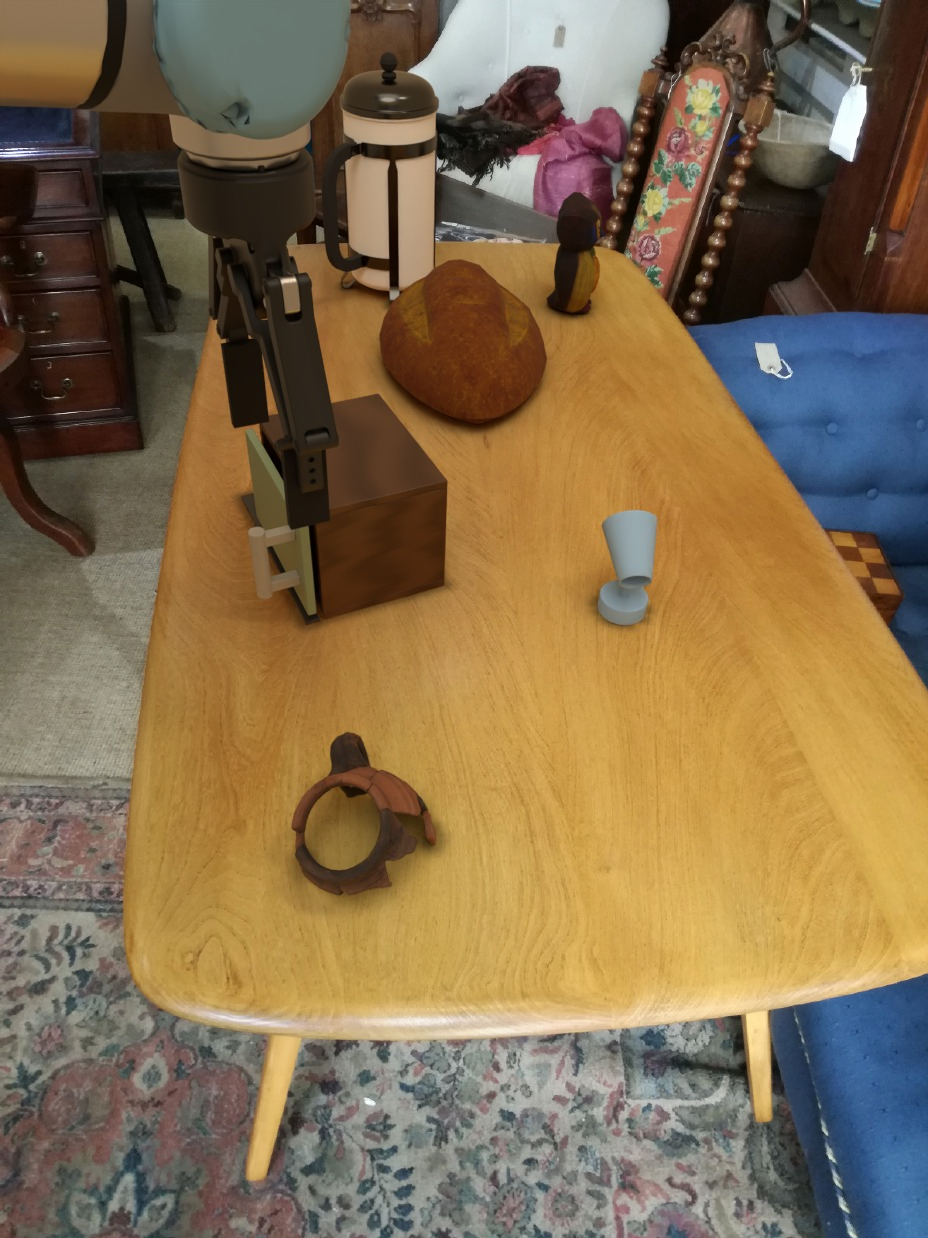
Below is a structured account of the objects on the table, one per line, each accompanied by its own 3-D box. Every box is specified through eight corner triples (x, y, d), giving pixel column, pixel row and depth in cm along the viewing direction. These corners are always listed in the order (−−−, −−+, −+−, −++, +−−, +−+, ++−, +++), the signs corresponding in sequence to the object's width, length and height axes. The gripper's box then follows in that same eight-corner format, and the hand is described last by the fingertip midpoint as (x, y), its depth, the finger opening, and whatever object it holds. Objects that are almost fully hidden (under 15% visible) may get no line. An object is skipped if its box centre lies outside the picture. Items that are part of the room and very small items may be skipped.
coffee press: (337, 264, 142) (324, 35, 121) (442, 266, 143) (447, 40, 122) (328, 314, 129) (312, 69, 109) (443, 317, 130) (449, 74, 110)
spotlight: (589, 581, 90) (599, 631, 85) (604, 495, 83) (616, 544, 78) (640, 581, 90) (653, 630, 85) (658, 496, 83) (675, 544, 78)
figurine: (593, 325, 130) (609, 215, 120) (543, 321, 130) (555, 210, 120) (595, 296, 137) (610, 189, 127) (548, 291, 137) (559, 185, 127)
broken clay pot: (463, 876, 66) (423, 858, 59) (347, 930, 67) (293, 919, 60) (409, 729, 72) (366, 696, 65) (303, 781, 73) (249, 755, 66)
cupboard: (305, 625, 84) (294, 517, 75) (241, 498, 97) (225, 395, 89) (444, 585, 88) (448, 480, 80) (364, 469, 102) (360, 369, 94)
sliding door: (266, 627, 82) (253, 537, 75) (219, 525, 92) (203, 437, 85) (316, 613, 83) (308, 524, 76) (264, 514, 94) (252, 427, 87)
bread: (377, 435, 107) (374, 333, 99) (381, 309, 131) (379, 219, 123) (558, 436, 108) (571, 336, 100) (530, 312, 132) (538, 222, 124)
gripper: (392, 217, 45) (393, 558, 60) (247, 87, 61) (275, 380, 76) (240, 235, 43) (280, 587, 57) (130, 94, 59) (183, 396, 73)
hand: (277, 469), depth 66 cm, fingers open, 13 cm apart
